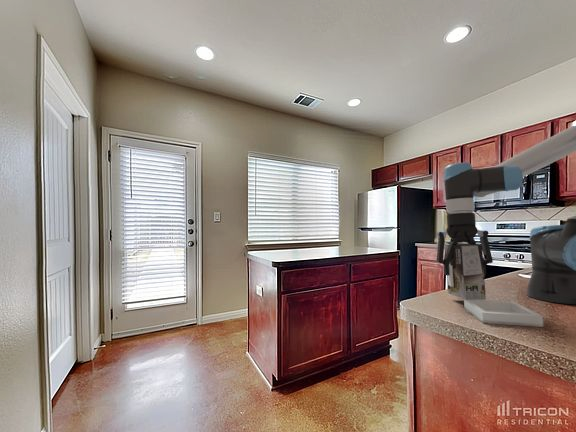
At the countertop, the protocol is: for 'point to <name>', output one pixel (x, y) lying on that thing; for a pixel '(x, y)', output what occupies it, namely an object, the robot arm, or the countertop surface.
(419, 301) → the countertop surface
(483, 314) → the shallow grey tray
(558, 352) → the countertop surface
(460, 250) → the printed cardboard box
